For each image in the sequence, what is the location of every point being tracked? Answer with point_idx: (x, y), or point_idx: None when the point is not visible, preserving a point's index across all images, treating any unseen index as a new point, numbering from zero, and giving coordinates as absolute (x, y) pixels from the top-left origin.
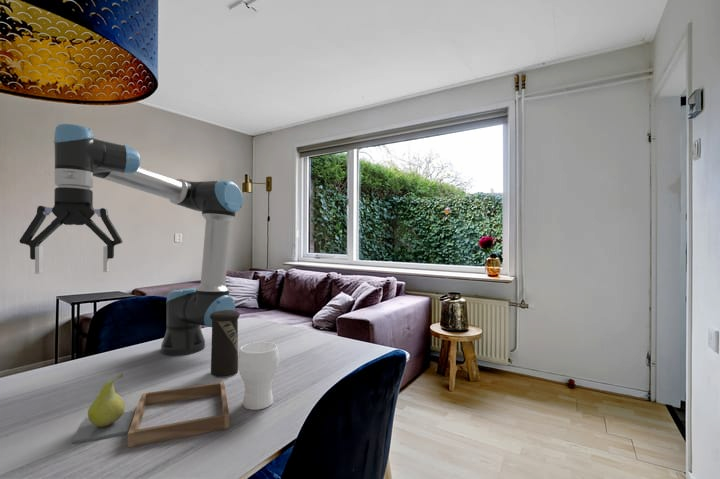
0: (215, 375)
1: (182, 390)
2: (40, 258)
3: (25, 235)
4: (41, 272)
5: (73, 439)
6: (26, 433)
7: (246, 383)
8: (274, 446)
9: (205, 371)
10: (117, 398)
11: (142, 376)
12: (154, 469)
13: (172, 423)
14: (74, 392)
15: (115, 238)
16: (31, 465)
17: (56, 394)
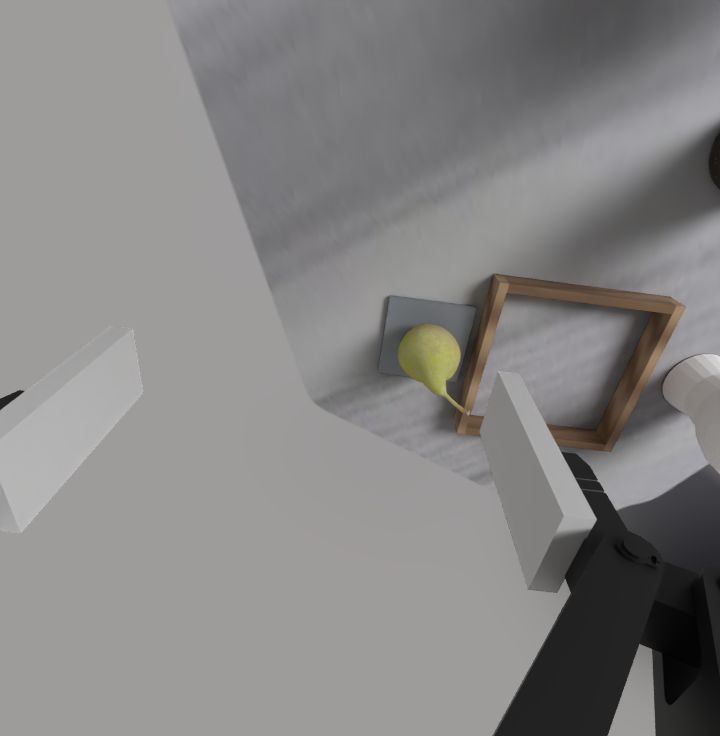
0: (713, 178)
1: (583, 302)
2: (82, 434)
3: None
4: (136, 361)
5: (379, 368)
6: (299, 295)
7: (694, 421)
8: (627, 503)
9: (713, 102)
10: (449, 373)
11: (528, 38)
12: (478, 478)
13: None
14: (345, 91)
15: (678, 692)
16: (336, 401)
17: (302, 81)
